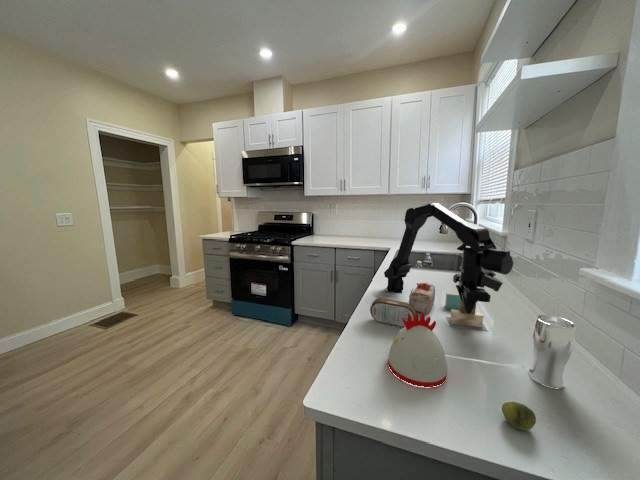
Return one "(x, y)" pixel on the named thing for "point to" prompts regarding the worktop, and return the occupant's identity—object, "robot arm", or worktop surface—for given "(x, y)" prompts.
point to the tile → (452, 300)
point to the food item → (422, 297)
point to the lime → (519, 415)
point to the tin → (391, 311)
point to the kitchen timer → (418, 353)
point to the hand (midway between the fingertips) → (467, 310)
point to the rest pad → (466, 326)
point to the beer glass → (551, 349)
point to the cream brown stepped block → (466, 316)
